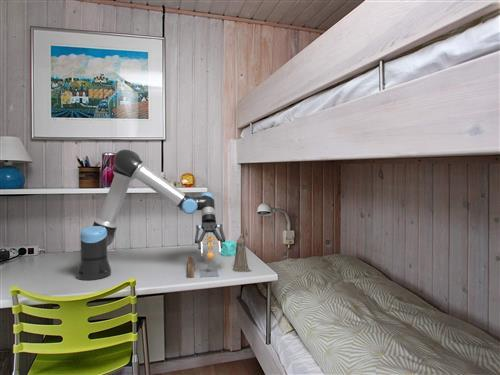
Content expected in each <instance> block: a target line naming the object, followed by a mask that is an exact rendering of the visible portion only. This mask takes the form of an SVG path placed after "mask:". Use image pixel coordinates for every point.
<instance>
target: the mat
mask: <svg viewBox="0 0 500 375" xmlns="http://www.w3.org/2000/svg"><path fill="white" fill-rule="evenodd" d="M199 275H200V278H211V277H212V278H213V277H220V275H219V272H218V269H217V268H207V269H206V268H205V269H199Z"/></svg>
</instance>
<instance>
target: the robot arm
mask: <svg viewBox="0 0 500 375" xmlns="http://www.w3.org/2000/svg"><path fill="white" fill-rule="evenodd" d="M141 159H142V158H141V157H140V155H139V154H138V153H137V152H135V151H133V150H130V149H121V150H118V152H116V153H115V154H114V156H113V165H114V167H113V170H112V173H113V178H112V182H111V183H110V186H109V188H108V189H109V190H108V192H107V195H106V197H105V200H104V202H103V206H102V209H101V211H100V214H99V216H98V218H96V219H94V221H93V223H92V226H88V227H84V228H82V230H81V231H80V235H79V239H80V262H79V266H78V269H77V273H76V278H77V279H78V280H81V281H94V280H95V281H96V280H101V279H104V278H105V279H106V278H107V277H109V276H111V275H112V267H111V265H110V263H109V259H108V246H110V245H111V244H112V243H113V241H114V240H115V235H116V231H117V228H118V224H116V222H117V219H118V217H119V215H120V214H119V213H120V211H121V208H122V206H123V203H124V200H125V199H126V198H125V197H126V195H127V192H128V190H129V187H130V185H131V182H132V181H133V180H135V179H137V180H138V181H139V182H141V183H142V184H144V185H145V186H147V187H148V188H149V189H151V190H153V192H156V193H157V194H159V195H160V196H161V197H163V198H165V199H166V200H167V201H169V202H170V203H172V204H173V205H175V206H176V207H178V209H179V211H182V212H184V213H185V214H187V215H191V214H194V213H195V212H196V211H201V212H200V213H201V215H200V216H201V224H200V225H199V224H196V226H195V229H196V231H195V236H194V244H198V245H197V246H198V250H200V256H201V257H203V256H204V255H203V254H204V253H203V252H204V250H203V249H204V248H203V245H202V244H203V241H204V238H205V235H206V234H208V233H212V234H213V236H214V237H215V239H217V241H218V243H217V245H218V244H219V245H218V246H217V247H218V255H219V256H220V255H222V254H221V248H222V246H223V245H222V242H225V241H226V237H225V232H224V230H223V224H218V223H217V219H216V207H215V198H214V197H215V196H214V195H213V194H212V193H211V192H209V191H208V192H203V193H201V195H200V196H189V195H188V194H186V193H184V192H183V191H182V190H181V189H179V188H177V187H176V186H174V185H173V184H172V183H171V182H170V181H167V180H166V179H165V178H163V177H162V176H160V175H159V174H158V173H157V172H154V171H153V170H152V169H150V168H149V167H147V166H146V165H145V162H144V161H143V160H141ZM201 229H202V232H201V234H200V231H201ZM217 229H218V230H219V232H218V231H217ZM199 234H200V236H199Z"/></svg>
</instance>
